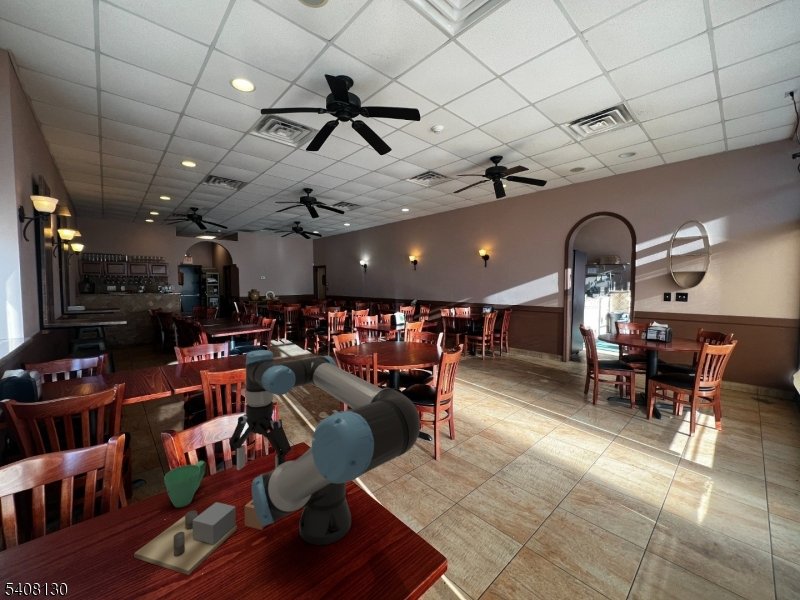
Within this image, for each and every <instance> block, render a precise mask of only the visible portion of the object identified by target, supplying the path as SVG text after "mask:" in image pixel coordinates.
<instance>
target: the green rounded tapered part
mask: <svg viewBox="0 0 800 600" xmlns="http://www.w3.org/2000/svg"><path fill="white" fill-rule="evenodd" d="M206 473H207V463H206V462H205V461H204V460H200V461H199V460H198V462H196V463H195V464H186V465H181V466H179V467H176V468H173V469H171V470H170V471H167V473H166V474H165V475H164V477H163V478H164V485H165V488H166V490H167V495H168V498H169V499H170V501H171V503H172V505H173V506H174V507H175V508H183V507H186V506H188V505H190V504H191V503H192V500H193V498H194V495H195V493H196V491H197V490H198V488H199V487H200V486H201V484H202V481H203V479H204V478H205V475H206ZM168 491H169V492H168Z"/></svg>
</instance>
